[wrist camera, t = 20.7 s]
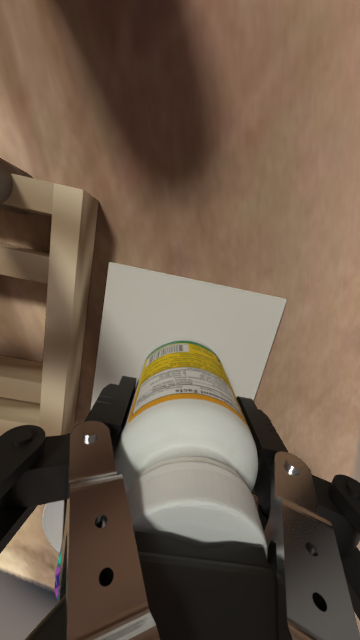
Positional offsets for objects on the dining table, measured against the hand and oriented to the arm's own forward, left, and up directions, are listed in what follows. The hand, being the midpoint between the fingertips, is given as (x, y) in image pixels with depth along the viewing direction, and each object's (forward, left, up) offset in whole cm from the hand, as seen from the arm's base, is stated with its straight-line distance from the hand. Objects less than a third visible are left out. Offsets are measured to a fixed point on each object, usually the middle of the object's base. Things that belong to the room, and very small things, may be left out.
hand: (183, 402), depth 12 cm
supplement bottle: (0, 0, -3) cm, 3 cm away
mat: (0, 0, -5) cm, 5 cm away
